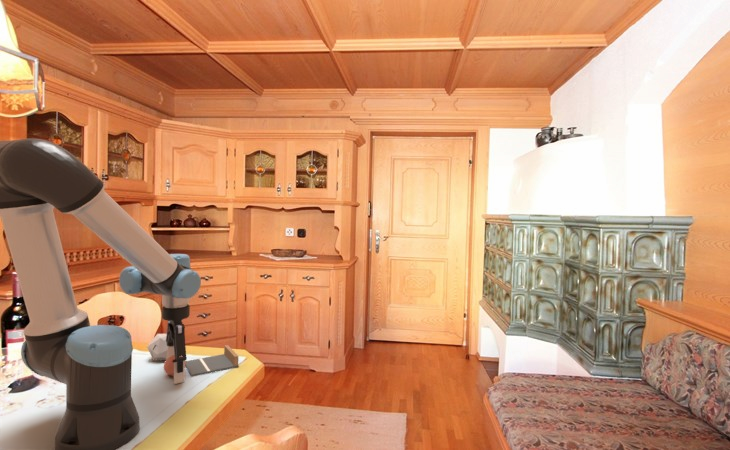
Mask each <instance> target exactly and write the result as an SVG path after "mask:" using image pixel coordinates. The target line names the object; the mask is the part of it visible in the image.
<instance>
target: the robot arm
mask: <svg viewBox="0 0 730 450" xmlns="http://www.w3.org/2000/svg"><path fill="white" fill-rule="evenodd" d="M105 188H106V184H105V183H104V182H103V181H102V179H100V178H99V177H98V176H97V175H96V174H95V173H94V172H93V170H91V169H90V168H89V167H88V166H87V165H86V164H85V163H83V161H81V160H80V159H78V157H77V156H75V155H74V154H73V153H71V152H70V151H68V150H67V149H65V148H64V147H62V146H60V145H58V144H56V143H55V142H52V141H49V140H47V139H41V138H33V137H32V138H30V137H29V138H28V137H27V138H22V139H21V138H20V139H12V140H0V220H1V224H2V229H3V231H4V234H5V237H6V241H7V245H8V249H9V251H10V255H11V258H12V259H11V260H12V263H13V267H14V270H15V272H16V276H17V280H18V283H19V287H20V290H21V293H22V297H23V301H24V305H25V308H26V312H27V315H28V318H29V323H28V324H27V325H26V326H25V327H24V329H23V334H24V339H25V340H24V342H22V345H21V351H20V353H21V359H22V362H23V364H24V365H25V366H26V367H27V368H28V369H29V370H30V371H31V372H33V373H34V374H36V375H38V376H41V377H45V378H48V379H51V380H53V381H57V382H58V383H61V384H64V385H66V389H65V391H66V393H65V394H66V395H65V397H66V406H65V411H64V414H63V417H62V419H61V423H60V424H59V427H58V430H57V432H56V435H55V441H54V449H55V450H116V449H118V448H120V447H122V446H124V445H125V444H126V443H128V442H130V441H132V439H134V438H135V436H136V435H137V434H138V433H139V430H140V421H141V420H140V415H139V412H138V410H137V407H136V405H135V403H134V400H133V397H132V367H133V366H132V364H133V362H132V360H133V357H132V356H133V355H132V354H133V349H134V347H133V341H132V335H131V333H130V332H129V330H128V329H126V328H124V327H121V326H118V325H112V324H110V325H106V324H95V325H91V323H90V322H91V321H90V319H89V314H88V313H87V311H84V310H82V309H79V308H78V305H77V301H76V297H75V293H74V288H73V286H72V281H71V276H70V274H69V268H68V264H67V261H66V260H67V259H66V257H65V253H64V249H63V245H62V241H61V237H60V233H59V229H58V225H57V221H56V217H55V213H54V209H55V208H56V210H58V211H59V212H60V213H61V214H64V215H72V216H73V217H75V218H76V219H77V220H78V221H79V222H80V223H81V224H83V225H84V226H85V227H86V228H88V229H89V230H90V231H91V232H92V233H94V235H96V236H97V237H98V238H99V239H100V240H102V241H103V242H104V243H106V244H107V245H108V246H109V247H110V248H111V249H112V250H113V251H115V252H116V253H117V254H118V255H120V257H121V258H122V259H124V260H126V261H127V262H128V263H129V265H130V264H131V266H126V267H124V268H123V269H122V270H121V272H120V274H119V286H120V289H121V290H122V291H123V293H124V294H126V295H127V294H128V295H133V294H136V295H138V294H140V293H149V294H155V295H160V296H161V305H162V306H163V307H162V308H161V319H162V320H163V321H164V320H165V321H167V326H166V334H167V335H166V342H167V346H169V347H167V359H168V358H169V357H170V356H172V355H175V359H174V360H173V361H172V362H173V363H174V376H173V385H176V384H180V383H185V369H186V366H185V361H187V350H186V348H187V347H186V335H185V334H186V333H185V328H186V327H185V324H184V323H183V321H182V320H184V319H185V320H186V319H188V318H189V316H190V315H191V314H190V310H191V309H190V308H191V307H190V301H191V300H190V298H193V297H194V296H195V295H197V293H198V292H199V291H200V288H201V286H202V280H201V279H202V278H201V276H200V274H199V273H198V271H195V270H193V269H192V268H191V258H190V256H189V254H186V253H168V251H166V250H165V248H164V247H162V246H161V245H160V244H159V242H157V241H156V240H155V239H154V238H153V236H152V235H150V233H148V232H147V231H146V229H144V228H143V227H142V226H141V225H139V223H138V222H137V221H136V219H134V218H133V217H132V216H131V215H130V214H129V213H128V212H127V211H126V210H125V209H124V208H122V206H120V204H118V203H117V202H116V201H115V199H113V198H112V197H111V196H110V195H109V194H108V192H106V191H105ZM179 356H182V357H179Z"/></svg>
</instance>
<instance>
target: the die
mask: <svg viewBox="0 0 730 450" xmlns="http://www.w3.org/2000/svg"><path fill="white" fill-rule="evenodd" d="M166 335H167V333H156V335H155V336H154V337H153V339H152V340H151V341H150V342H149V344H148V345H147V346H146V347H147V350H148V351H149V354H150V356H151V358H152V361H166V360H167V347H169V346H167V342H166Z"/></svg>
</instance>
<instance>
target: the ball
mask: <svg viewBox="0 0 730 450" xmlns="http://www.w3.org/2000/svg"><path fill="white" fill-rule="evenodd" d="M179 357H182V356H179ZM174 359H175V355H172V356H170V357H169V358H168V359H167V360H164V365H163V370H164V372H165V374H167V375H168V376H171V377H172V376H173V377H174V363H173V362H172V361H173V360H174ZM186 361H187V360H185V367H186Z"/></svg>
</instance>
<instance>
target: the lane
mask: <svg viewBox="0 0 730 450" xmlns="http://www.w3.org/2000/svg"><path fill="white" fill-rule="evenodd" d="M223 351H224V353H222V354H218V355H212V356H206V357H200V358H196V359H191V360H190V359H189V360H185V361H186V366H185V369H187V371H188V373H189V374H190V376H191V377H198V376H201V375H207V374H210V373H211V372H212V373H216V372H215V371H217V372H221V371H226V370H231V369H235V368H238V367H239V355H238V354H237V353H236V352H235V351H234V350H233V348H231V347H230V345H228V344H226V345H224V347H223ZM220 370H221V371H220ZM212 373H211V374H212Z"/></svg>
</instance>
